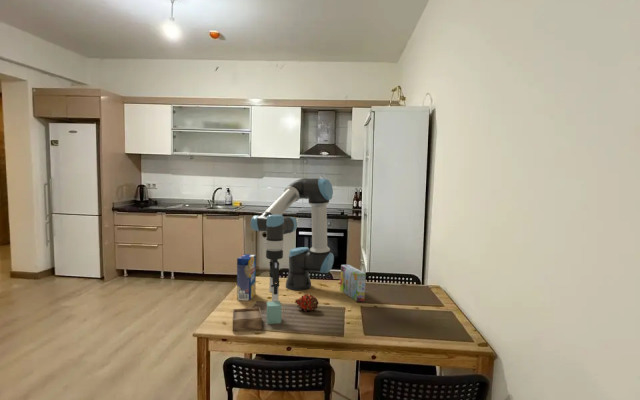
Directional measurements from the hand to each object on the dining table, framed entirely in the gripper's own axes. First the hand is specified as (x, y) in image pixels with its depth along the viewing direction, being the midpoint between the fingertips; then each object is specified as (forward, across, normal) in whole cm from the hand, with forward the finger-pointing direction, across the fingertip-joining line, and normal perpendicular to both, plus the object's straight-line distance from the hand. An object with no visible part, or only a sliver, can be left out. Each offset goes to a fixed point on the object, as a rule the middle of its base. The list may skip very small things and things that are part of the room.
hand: (273, 296), depth 161 cm
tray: (+12, +2, -12) cm, 17 cm away
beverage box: (+11, -35, -11) cm, 39 cm away
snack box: (+11, -28, +46) cm, 55 cm away
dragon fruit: (+11, -10, +17) cm, 23 cm away
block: (+12, 0, 0) cm, 12 cm away
